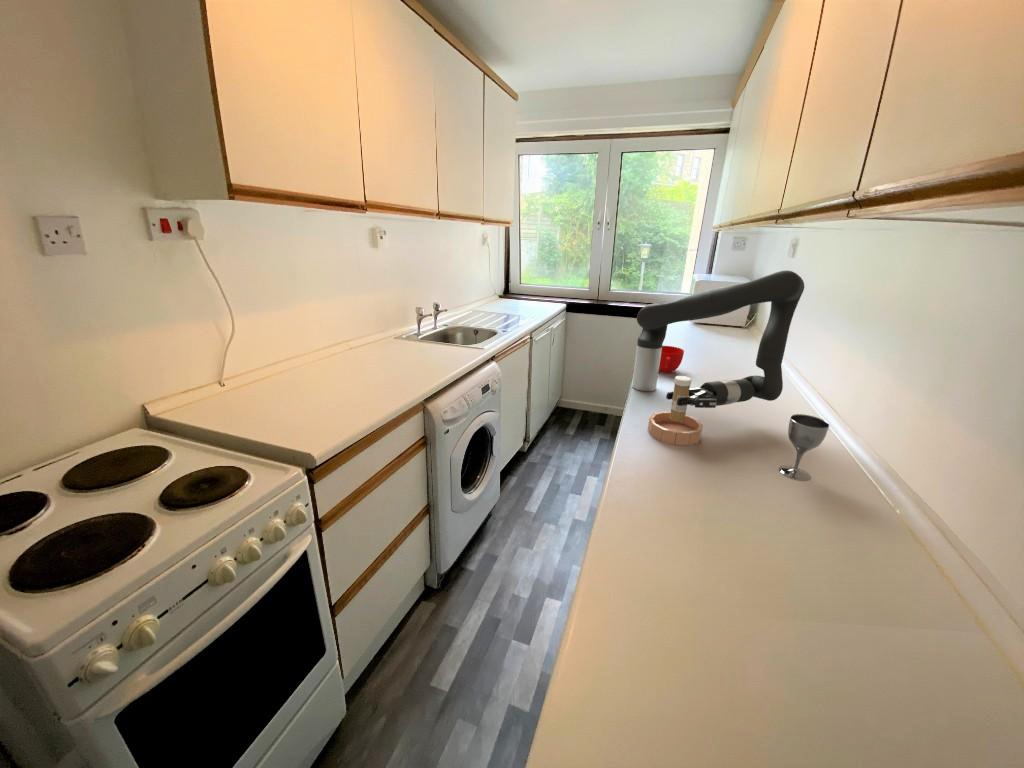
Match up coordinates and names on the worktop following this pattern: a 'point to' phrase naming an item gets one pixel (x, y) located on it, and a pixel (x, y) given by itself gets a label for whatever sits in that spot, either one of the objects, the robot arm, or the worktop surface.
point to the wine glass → (804, 441)
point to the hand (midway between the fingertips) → (672, 399)
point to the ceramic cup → (670, 359)
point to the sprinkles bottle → (679, 392)
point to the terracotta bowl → (675, 429)
